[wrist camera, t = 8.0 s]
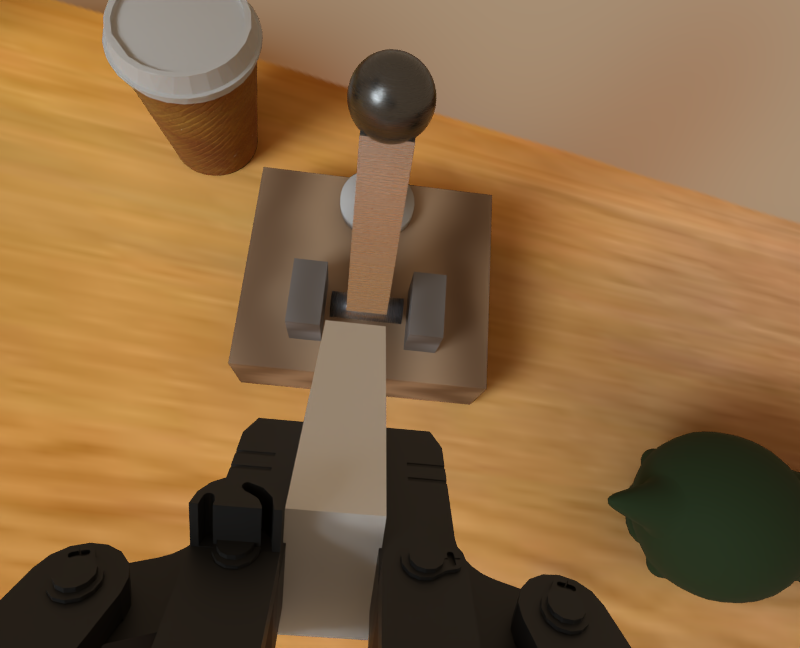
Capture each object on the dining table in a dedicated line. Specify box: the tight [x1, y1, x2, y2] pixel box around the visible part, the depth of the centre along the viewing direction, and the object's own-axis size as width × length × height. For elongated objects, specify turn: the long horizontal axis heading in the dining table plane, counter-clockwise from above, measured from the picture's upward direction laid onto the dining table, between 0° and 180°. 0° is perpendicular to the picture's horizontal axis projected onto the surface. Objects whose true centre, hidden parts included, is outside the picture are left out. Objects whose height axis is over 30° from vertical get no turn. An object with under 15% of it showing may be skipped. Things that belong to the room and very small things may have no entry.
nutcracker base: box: [228, 167, 492, 404], centre depth 40 cm, size 16×14×8 cm
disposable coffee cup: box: [102, 0, 262, 175], centre depth 41 cm, size 10×10×12 cm
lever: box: [329, 49, 436, 324], centre depth 30 cm, size 4×4×17 cm
